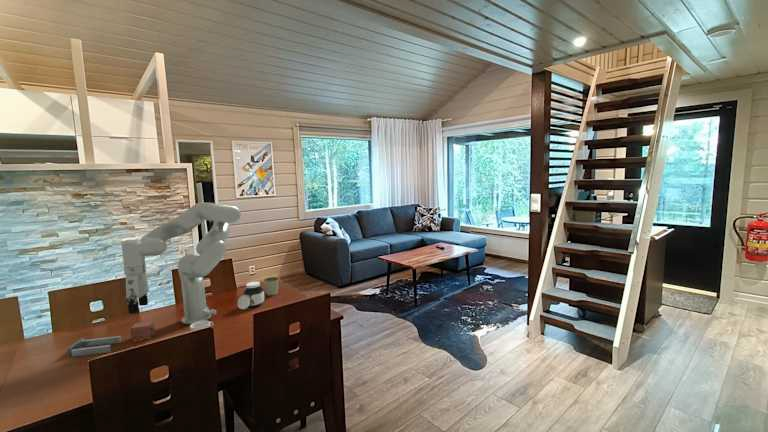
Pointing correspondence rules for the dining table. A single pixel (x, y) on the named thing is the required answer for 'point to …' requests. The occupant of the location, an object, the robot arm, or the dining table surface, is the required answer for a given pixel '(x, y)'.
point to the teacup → (200, 325)
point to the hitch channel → (79, 346)
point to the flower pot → (271, 285)
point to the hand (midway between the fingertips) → (138, 309)
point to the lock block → (142, 330)
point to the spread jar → (251, 296)
